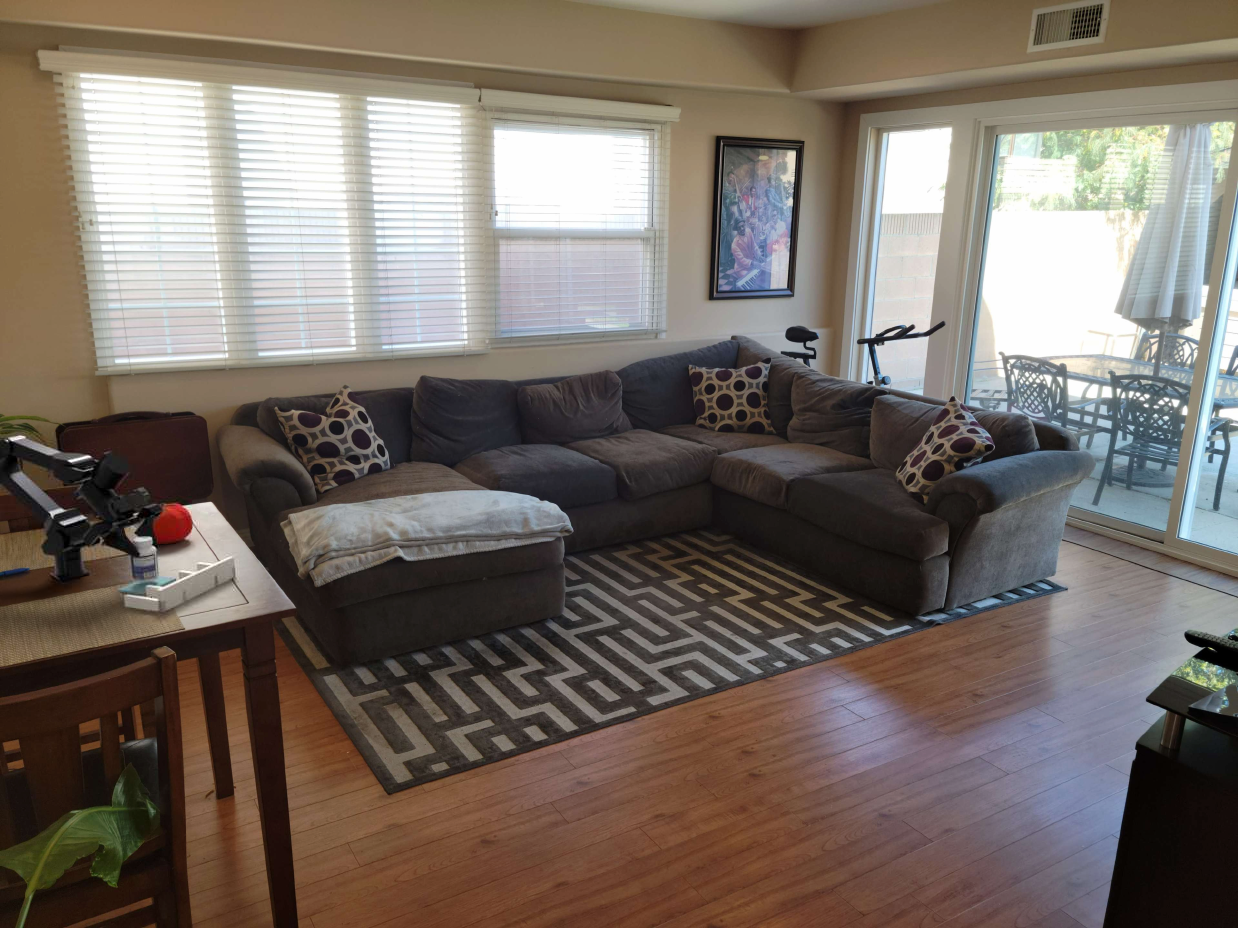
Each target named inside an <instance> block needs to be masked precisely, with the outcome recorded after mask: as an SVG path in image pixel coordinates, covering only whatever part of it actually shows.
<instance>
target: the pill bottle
mask: <svg viewBox="0 0 1238 928" xmlns="http://www.w3.org/2000/svg"><path fill="white" fill-rule="evenodd" d="M152 543H153V542H152V537H148V536H144V537H138V536H137V537H134V538H133V539H132V544H133V545H134V546H135V547H136V549H137V550H138V552H139V553H140V556H139V557H134V556H132V555H129V556H130V564H131V565H130V566H131V575H132V581H133V582H140V583H142V582H150V581H154V580H156V579H157V578H158V577H159V576H160V575H159V574H160V573H159V563H158V561H159V560H158V551H157V550H158V549H157V550H156V548H155V547H154V546H152Z"/></svg>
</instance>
